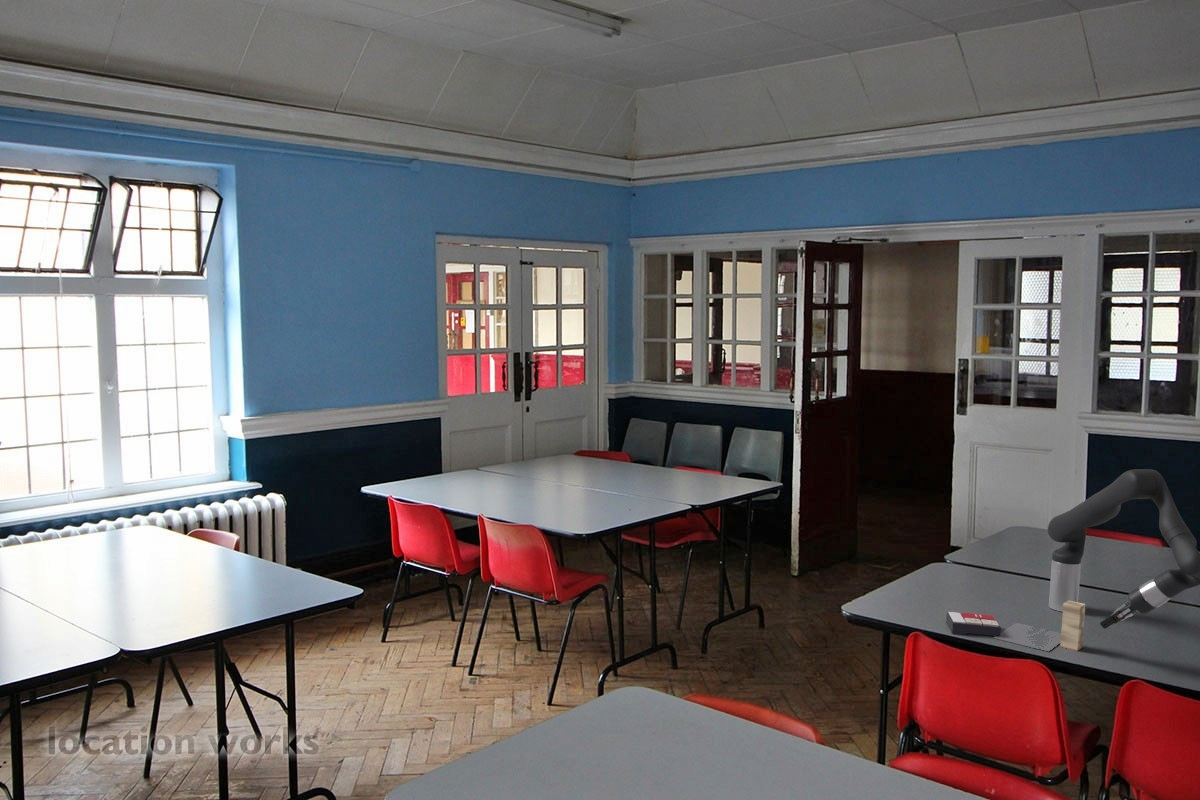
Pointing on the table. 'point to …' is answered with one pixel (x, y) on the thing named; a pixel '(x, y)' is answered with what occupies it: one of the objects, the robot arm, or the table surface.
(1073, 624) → the tall block
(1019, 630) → the mat
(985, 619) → the red white grey box
